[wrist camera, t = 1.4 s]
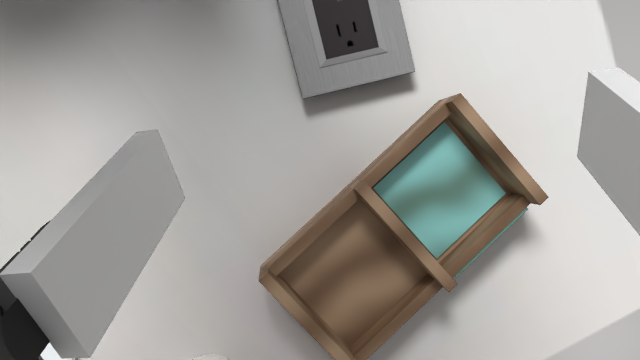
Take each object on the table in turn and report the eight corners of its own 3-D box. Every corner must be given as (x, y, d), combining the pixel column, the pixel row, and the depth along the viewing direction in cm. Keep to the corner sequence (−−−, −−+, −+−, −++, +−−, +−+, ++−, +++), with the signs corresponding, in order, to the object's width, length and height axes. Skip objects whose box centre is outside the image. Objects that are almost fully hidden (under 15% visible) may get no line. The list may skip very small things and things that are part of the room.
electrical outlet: (408, 75, 43) (416, 70, 40) (301, 101, 42) (303, 98, 40) (376, -64, 42) (382, -77, 39) (265, -40, 41) (265, -52, 39)
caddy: (260, 266, 42) (258, 281, 37) (438, 100, 43) (460, 93, 38) (348, 357, 43) (357, 383, 38) (519, 194, 44) (550, 199, 39)
